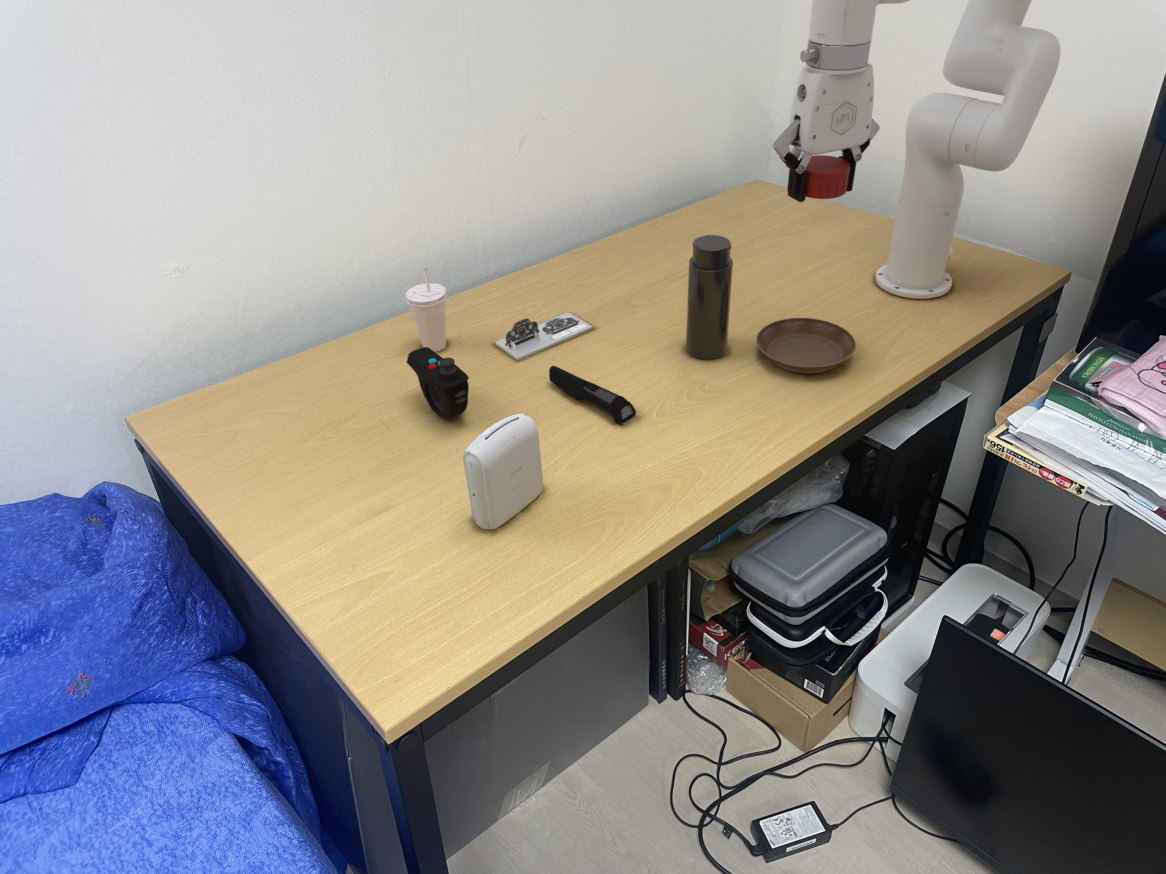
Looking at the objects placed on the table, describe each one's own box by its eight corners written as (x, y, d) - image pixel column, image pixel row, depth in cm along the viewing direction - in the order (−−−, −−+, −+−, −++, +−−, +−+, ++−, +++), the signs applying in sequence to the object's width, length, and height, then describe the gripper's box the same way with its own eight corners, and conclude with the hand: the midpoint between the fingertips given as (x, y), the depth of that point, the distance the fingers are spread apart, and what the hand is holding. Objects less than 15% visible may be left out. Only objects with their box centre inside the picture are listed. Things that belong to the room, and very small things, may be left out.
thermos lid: (850, 199, 115) (854, 173, 113) (795, 199, 116) (798, 173, 114) (843, 180, 121) (847, 155, 119) (791, 179, 122) (794, 154, 120)
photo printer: (492, 536, 104) (480, 455, 97) (467, 521, 107) (454, 441, 99) (549, 492, 111) (542, 412, 103) (524, 479, 113) (516, 400, 106)
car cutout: (517, 360, 136) (515, 335, 134) (494, 344, 141) (491, 319, 138) (592, 329, 143) (591, 304, 141) (568, 314, 148) (567, 290, 145)
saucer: (736, 360, 134) (738, 345, 132) (785, 322, 143) (787, 307, 141) (824, 393, 126) (827, 377, 124) (870, 350, 135) (872, 335, 133)
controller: (453, 435, 121) (443, 375, 115) (410, 398, 129) (399, 339, 123) (479, 423, 123) (471, 363, 117) (435, 387, 131) (425, 329, 125)
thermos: (703, 334, 141) (709, 229, 130) (735, 348, 137) (743, 241, 126) (677, 350, 137) (680, 243, 126) (708, 364, 133) (715, 256, 123)
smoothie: (447, 357, 138) (434, 277, 130) (408, 354, 139) (394, 274, 131) (459, 337, 143) (448, 258, 135) (422, 334, 144) (409, 256, 136)
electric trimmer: (562, 377, 132) (560, 359, 131) (638, 415, 123) (637, 397, 121) (544, 387, 130) (542, 369, 128) (619, 427, 121) (619, 408, 119)
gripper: (796, 71, 103) (781, 215, 114) (914, 52, 108) (889, 191, 119) (761, 58, 108) (750, 196, 119) (874, 40, 114) (854, 173, 124)
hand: (819, 192), depth 119 cm, fingers closed on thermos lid, 7 cm apart
